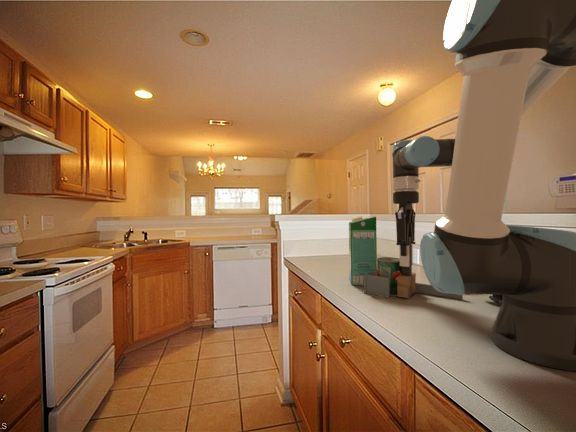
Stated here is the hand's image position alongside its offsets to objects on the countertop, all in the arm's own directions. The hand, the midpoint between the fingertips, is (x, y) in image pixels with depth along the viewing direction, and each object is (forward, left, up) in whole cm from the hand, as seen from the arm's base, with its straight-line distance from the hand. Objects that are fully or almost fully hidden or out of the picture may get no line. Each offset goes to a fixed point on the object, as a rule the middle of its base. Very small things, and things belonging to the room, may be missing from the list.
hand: (406, 265), depth 88 cm
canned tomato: (0, +5, -10) cm, 11 cm away
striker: (0, 0, -10) cm, 10 cm away
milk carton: (+7, +18, -10) cm, 22 cm away
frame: (0, -1, -10) cm, 10 cm away
